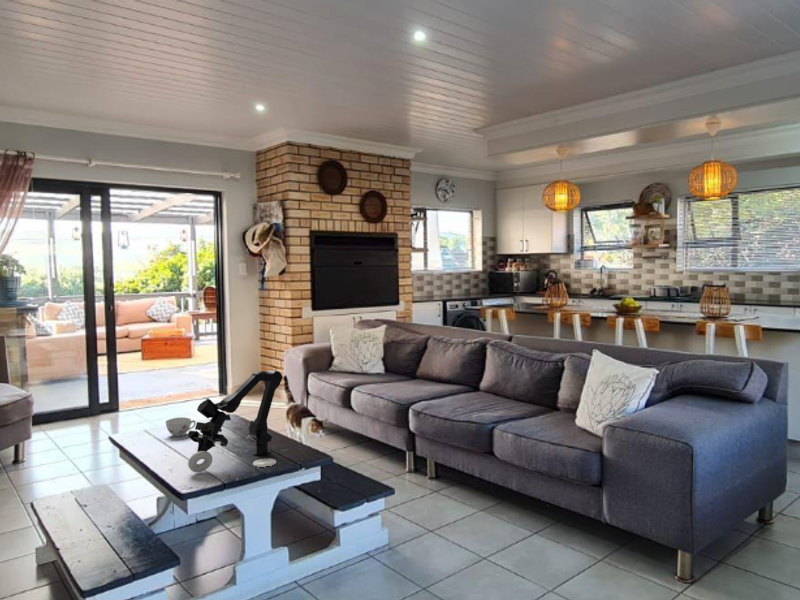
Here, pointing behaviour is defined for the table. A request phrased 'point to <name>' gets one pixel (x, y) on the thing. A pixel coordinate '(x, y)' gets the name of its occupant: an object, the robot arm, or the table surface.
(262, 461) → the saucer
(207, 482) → the table surface
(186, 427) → the teacup
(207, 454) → the donut
